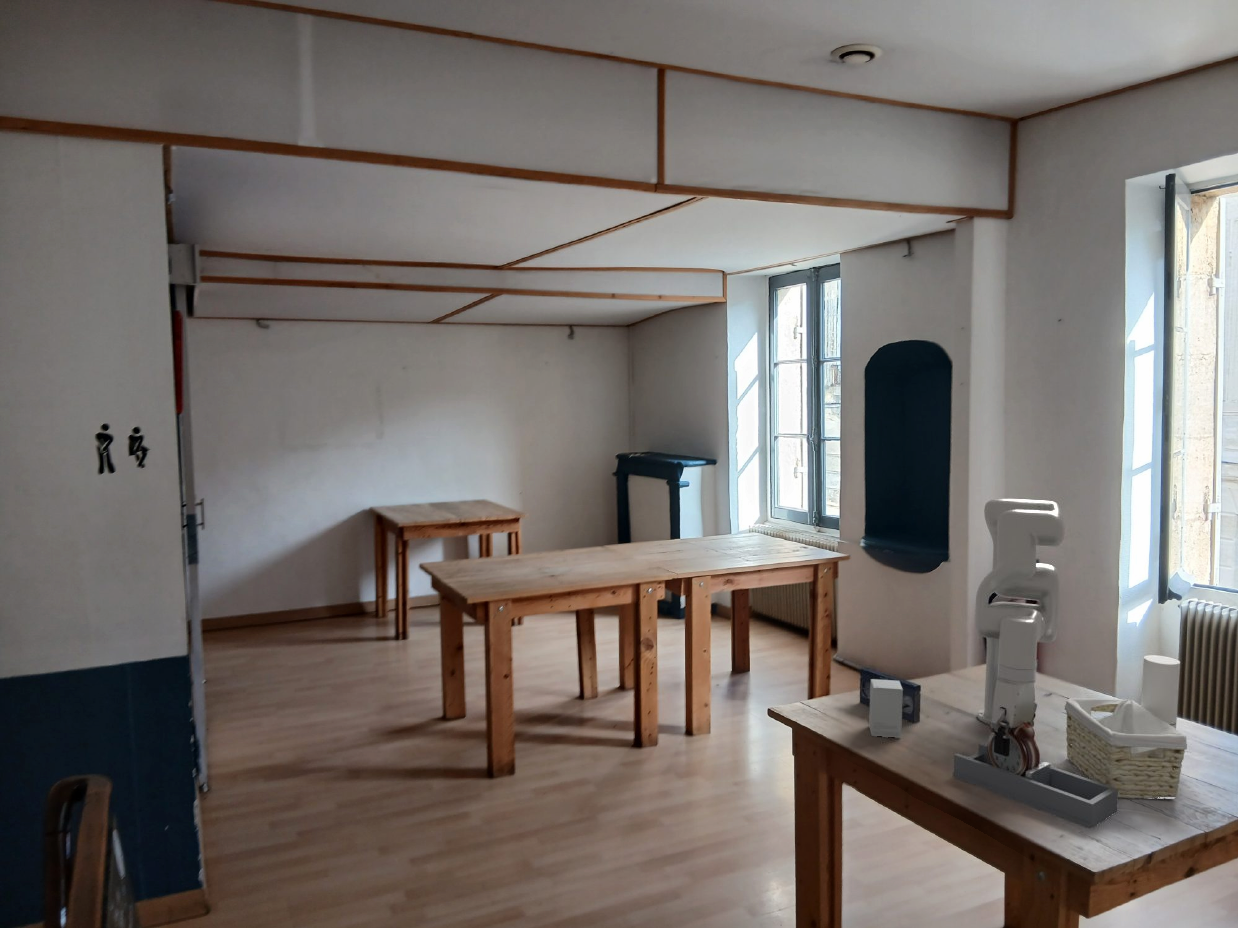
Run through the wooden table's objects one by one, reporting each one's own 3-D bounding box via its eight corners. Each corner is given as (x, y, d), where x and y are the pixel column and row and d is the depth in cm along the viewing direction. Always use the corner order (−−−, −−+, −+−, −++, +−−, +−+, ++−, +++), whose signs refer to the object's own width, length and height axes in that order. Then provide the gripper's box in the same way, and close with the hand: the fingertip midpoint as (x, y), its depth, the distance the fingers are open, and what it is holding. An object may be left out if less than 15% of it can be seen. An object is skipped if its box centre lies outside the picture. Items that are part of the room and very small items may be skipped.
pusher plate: (1043, 783, 192) (1044, 761, 192) (1049, 785, 192) (1050, 763, 191) (1024, 794, 187) (1025, 771, 187) (1030, 796, 186) (1031, 773, 186)
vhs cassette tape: (858, 703, 246) (859, 668, 245) (866, 701, 247) (867, 666, 246) (913, 724, 230) (914, 687, 229) (920, 722, 232) (921, 685, 231)
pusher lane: (981, 763, 206) (982, 742, 206) (1117, 811, 182) (1118, 788, 182) (952, 776, 199) (953, 754, 198) (1090, 828, 175) (1092, 804, 175)
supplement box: (901, 738, 220) (903, 689, 219) (870, 736, 221) (872, 687, 220) (898, 728, 227) (900, 680, 226) (868, 725, 229) (870, 677, 228)
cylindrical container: (1169, 760, 208) (1175, 656, 206) (1177, 772, 201) (1183, 665, 199) (1134, 756, 210) (1140, 653, 208) (1141, 768, 204) (1147, 662, 202)
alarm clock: (987, 776, 197) (982, 707, 198) (1003, 772, 199) (997, 705, 200) (1029, 787, 187) (1023, 715, 189) (1044, 783, 189) (1038, 712, 191)
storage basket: (1059, 755, 211) (1062, 695, 210) (1130, 758, 210) (1133, 697, 209) (1107, 801, 187) (1110, 734, 186) (1187, 804, 186) (1191, 736, 185)
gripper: (1020, 660, 200) (1016, 733, 202) (979, 675, 190) (975, 752, 191) (1053, 669, 194) (1049, 744, 196) (1012, 685, 184) (1009, 764, 185)
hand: (1013, 748), depth 194 cm, fingers open, 9 cm apart
